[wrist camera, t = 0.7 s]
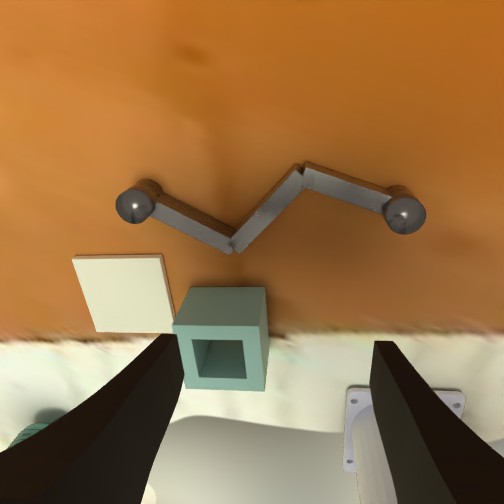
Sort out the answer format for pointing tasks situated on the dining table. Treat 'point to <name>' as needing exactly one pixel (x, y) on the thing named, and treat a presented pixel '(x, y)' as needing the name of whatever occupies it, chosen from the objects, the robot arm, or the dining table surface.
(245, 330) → the hollow square tube
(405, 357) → the robot arm
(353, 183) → the grey zigzag bar
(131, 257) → the coaster
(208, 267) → the dining table surface
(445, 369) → the dining table surface
